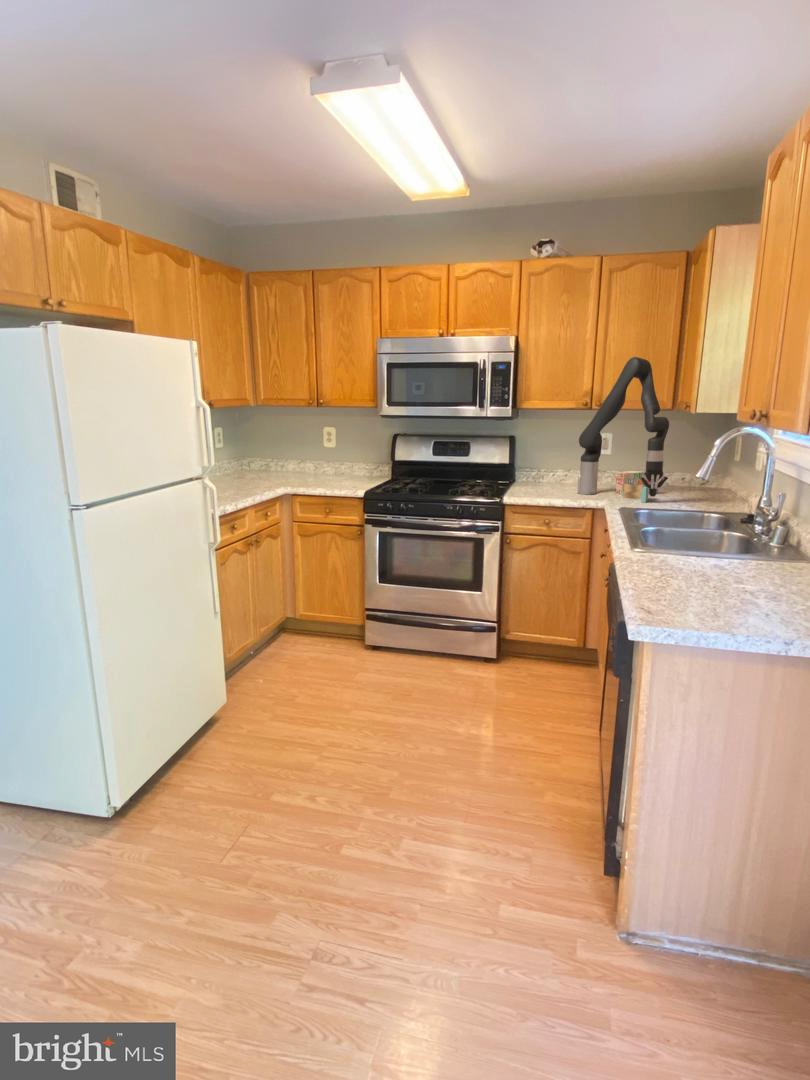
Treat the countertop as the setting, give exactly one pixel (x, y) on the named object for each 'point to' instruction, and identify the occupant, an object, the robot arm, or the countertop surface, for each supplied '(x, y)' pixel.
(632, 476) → the stack of blocks
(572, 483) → the countertop surface
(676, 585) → the countertop surface
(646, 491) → the fence free panel
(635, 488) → the fence fixed panel
